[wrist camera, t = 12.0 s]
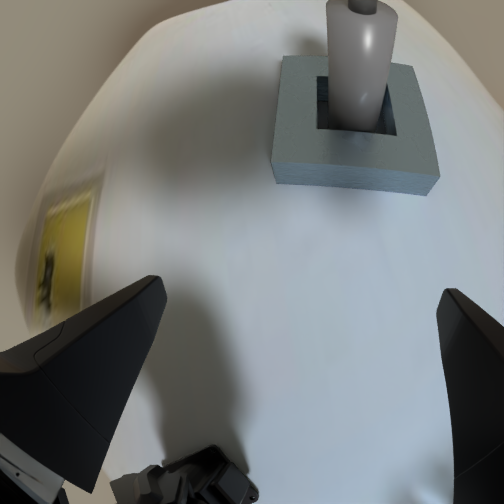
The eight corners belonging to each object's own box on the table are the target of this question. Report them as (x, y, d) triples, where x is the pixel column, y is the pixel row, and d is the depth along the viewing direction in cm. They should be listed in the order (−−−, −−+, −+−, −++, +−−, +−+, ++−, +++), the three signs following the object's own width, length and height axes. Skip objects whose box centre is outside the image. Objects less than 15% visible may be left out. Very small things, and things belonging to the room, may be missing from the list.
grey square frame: (426, 195, 21) (440, 176, 18) (276, 183, 24) (270, 162, 21) (406, 88, 24) (412, 66, 21) (287, 79, 27) (282, 55, 24)
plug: (351, 155, 24) (369, 3, 9) (317, 124, 25) (307, -21, 11) (384, 131, 24) (415, -7, 9) (351, 103, 25) (357, -31, 11)
